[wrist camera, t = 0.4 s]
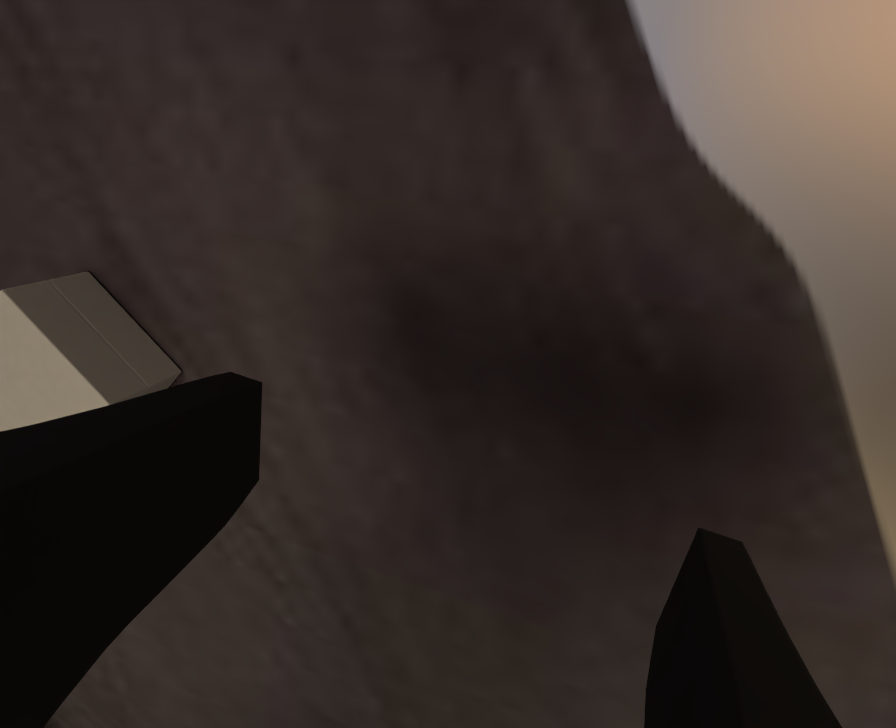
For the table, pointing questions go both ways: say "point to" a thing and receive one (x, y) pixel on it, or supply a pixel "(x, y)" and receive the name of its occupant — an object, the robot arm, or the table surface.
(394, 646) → the table surface
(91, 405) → the beige block
